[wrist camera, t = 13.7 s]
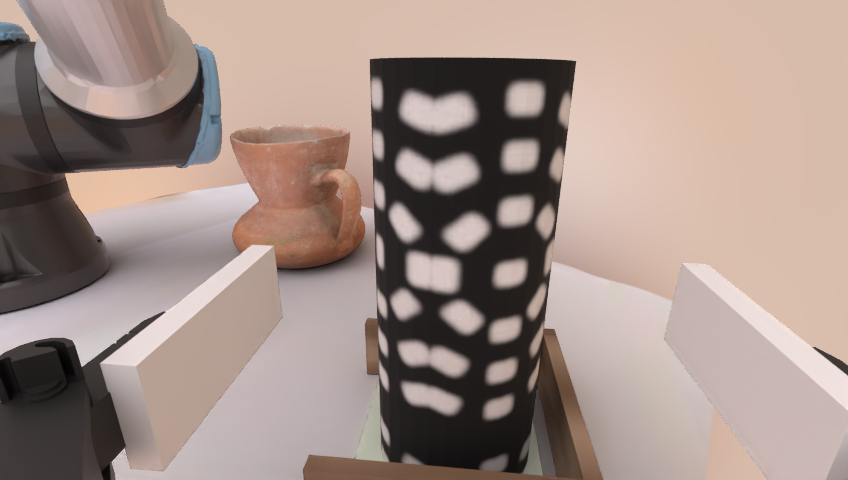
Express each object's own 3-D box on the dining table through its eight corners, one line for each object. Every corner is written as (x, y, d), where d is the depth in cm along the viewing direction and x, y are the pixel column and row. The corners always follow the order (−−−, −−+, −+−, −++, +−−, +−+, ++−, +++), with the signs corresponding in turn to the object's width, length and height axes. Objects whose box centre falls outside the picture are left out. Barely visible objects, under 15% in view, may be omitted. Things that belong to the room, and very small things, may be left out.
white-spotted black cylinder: (481, 377, 30) (502, 64, 23) (560, 472, 23) (625, 61, 16) (363, 410, 27) (347, 61, 20) (412, 530, 20) (413, 55, 13)
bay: (369, 366, 32) (367, 318, 31) (547, 379, 31) (554, 329, 29) (310, 536, 20) (302, 470, 19) (594, 566, 19) (609, 498, 18)
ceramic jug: (209, 252, 52) (186, 128, 47) (312, 222, 62) (304, 118, 57) (295, 306, 41) (279, 152, 36) (405, 259, 51) (404, 134, 46)
